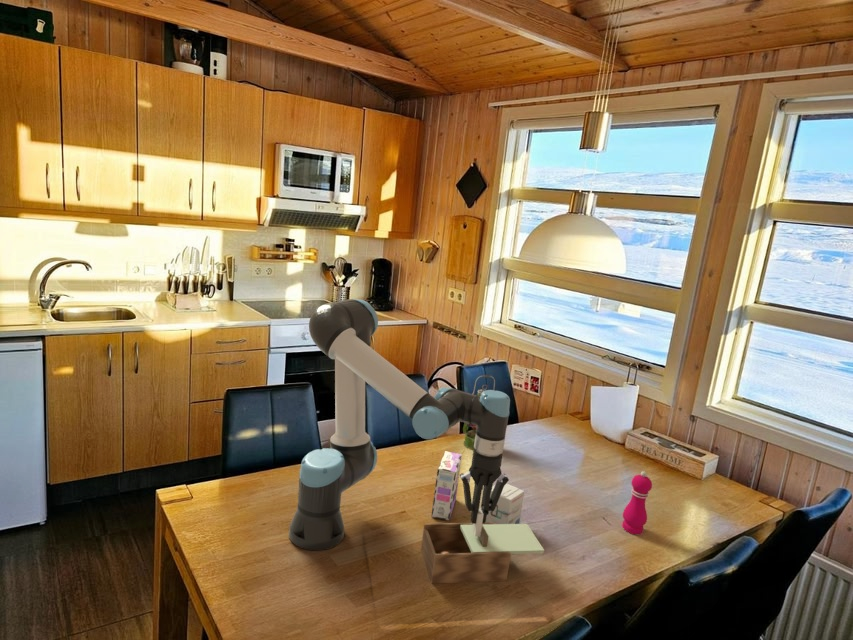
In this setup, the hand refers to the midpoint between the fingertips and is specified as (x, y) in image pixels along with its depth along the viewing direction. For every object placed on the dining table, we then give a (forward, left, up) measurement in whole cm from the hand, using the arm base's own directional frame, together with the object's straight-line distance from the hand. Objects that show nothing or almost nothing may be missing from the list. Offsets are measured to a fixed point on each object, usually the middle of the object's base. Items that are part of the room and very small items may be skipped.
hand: (476, 533), depth 149 cm
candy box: (-1, +29, -10) cm, 31 cm away
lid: (+7, 0, -2) cm, 8 cm away
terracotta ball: (-8, 0, -9) cm, 12 cm away
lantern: (+24, +76, -10) cm, 81 cm away
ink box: (+15, +20, -10) cm, 27 cm away
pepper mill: (+58, +16, -10) cm, 62 cm away
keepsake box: (-3, 0, -10) cm, 10 cm away
